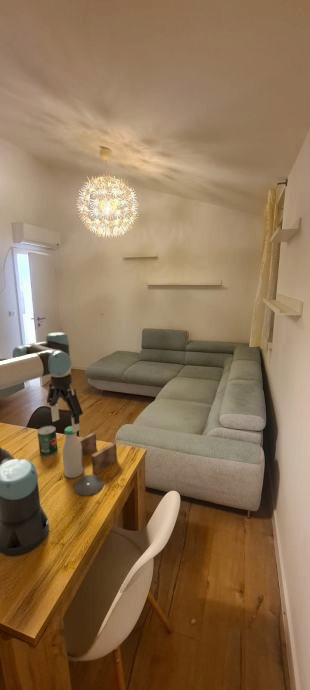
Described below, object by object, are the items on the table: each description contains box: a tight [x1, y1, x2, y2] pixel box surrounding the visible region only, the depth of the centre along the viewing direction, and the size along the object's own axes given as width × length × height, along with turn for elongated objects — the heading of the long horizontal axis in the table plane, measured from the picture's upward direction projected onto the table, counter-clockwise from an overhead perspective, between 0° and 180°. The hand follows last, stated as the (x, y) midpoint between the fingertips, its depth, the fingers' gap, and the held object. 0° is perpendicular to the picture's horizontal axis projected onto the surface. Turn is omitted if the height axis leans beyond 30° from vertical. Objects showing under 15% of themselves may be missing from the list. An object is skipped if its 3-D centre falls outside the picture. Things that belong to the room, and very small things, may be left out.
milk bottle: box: [61, 425, 85, 479], centre depth 120 cm, size 8×8×20 cm
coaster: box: [73, 474, 104, 497], centre depth 115 cm, size 11×11×1 cm
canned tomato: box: [37, 425, 59, 457], centre depth 136 cm, size 8×8×11 cm
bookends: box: [78, 432, 118, 475], centre depth 130 cm, size 12×16×8 cm
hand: (65, 425), depth 116 cm, fingers open, 13 cm apart
